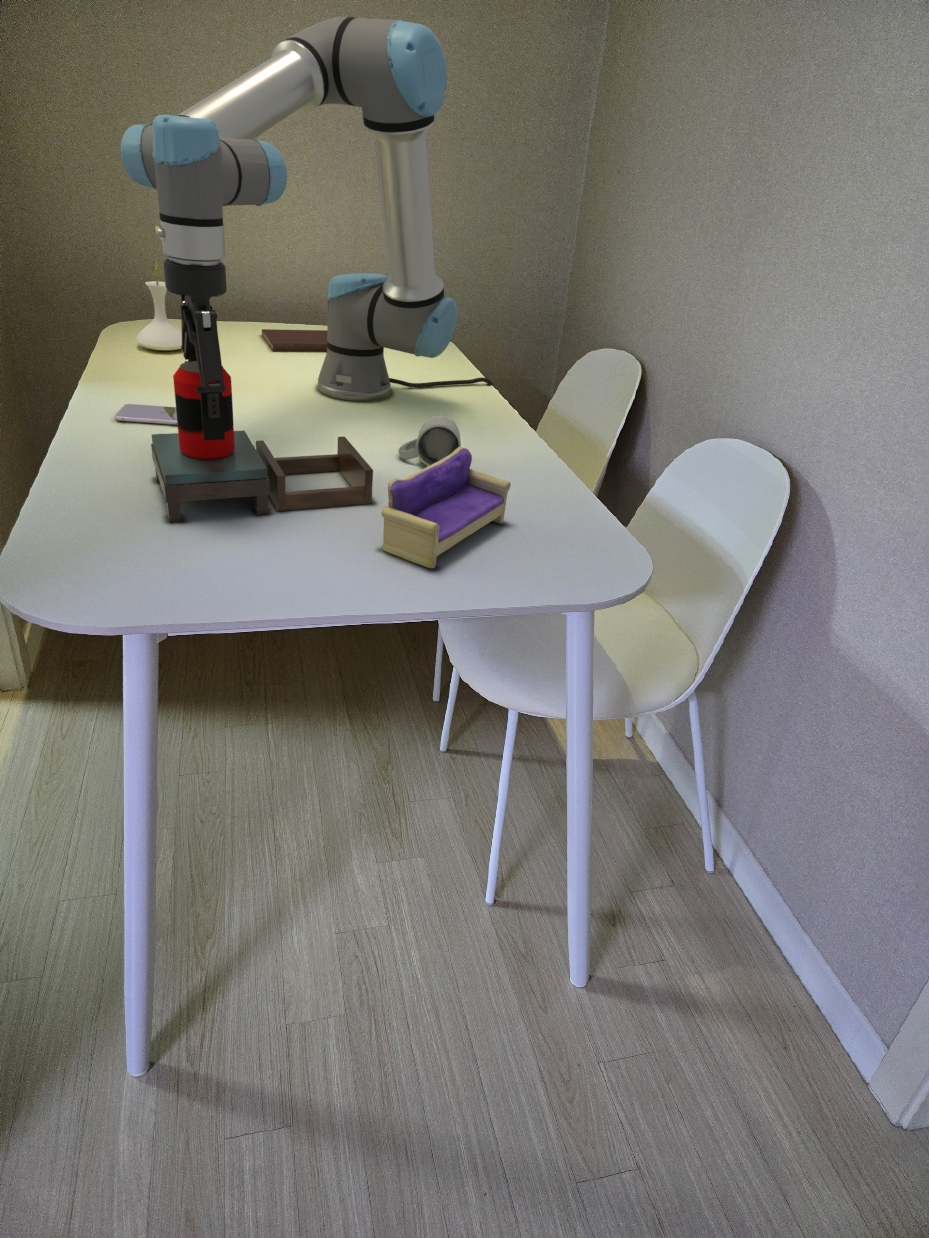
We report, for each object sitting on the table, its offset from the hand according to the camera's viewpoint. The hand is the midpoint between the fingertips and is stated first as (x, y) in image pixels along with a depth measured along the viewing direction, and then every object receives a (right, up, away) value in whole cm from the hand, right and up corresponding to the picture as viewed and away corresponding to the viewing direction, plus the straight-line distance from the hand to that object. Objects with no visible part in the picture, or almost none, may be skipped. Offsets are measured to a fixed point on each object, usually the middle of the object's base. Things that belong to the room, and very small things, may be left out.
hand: (205, 422), depth 112 cm
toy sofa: (+34, -16, +3) cm, 38 cm away
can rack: (+13, -7, +12) cm, 19 cm away
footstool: (-1, -9, +6) cm, 11 cm away
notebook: (-3, +41, +85) cm, 95 cm away
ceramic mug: (+30, 0, +27) cm, 41 cm away
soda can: (0, -4, +2) cm, 4 cm away
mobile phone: (-18, +8, +31) cm, 37 cm away
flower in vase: (-32, +34, +69) cm, 84 cm away
